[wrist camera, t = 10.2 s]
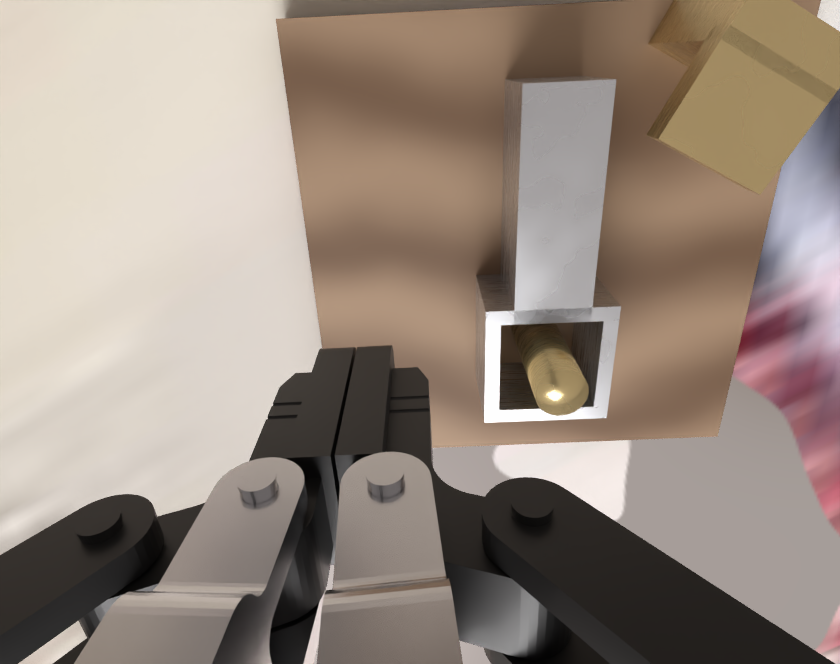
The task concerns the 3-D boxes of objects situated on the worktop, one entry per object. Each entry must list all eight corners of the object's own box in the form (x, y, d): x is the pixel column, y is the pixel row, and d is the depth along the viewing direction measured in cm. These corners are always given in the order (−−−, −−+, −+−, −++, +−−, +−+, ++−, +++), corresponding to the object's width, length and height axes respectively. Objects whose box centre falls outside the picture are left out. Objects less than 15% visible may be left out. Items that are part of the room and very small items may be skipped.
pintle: (511, 305, 26) (536, 371, 20) (554, 303, 26) (590, 368, 20) (510, 343, 26) (533, 416, 21) (552, 342, 26) (586, 414, 21)
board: (282, 20, 21) (275, 19, 20) (802, -7, 21) (823, -11, 20) (340, 437, 30) (337, 451, 29) (706, 422, 30) (717, 436, 29)
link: (476, 80, 21) (488, 85, 18) (611, 74, 21) (651, 77, 18) (475, 374, 27) (484, 422, 24) (581, 370, 27) (606, 418, 24)
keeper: (684, 164, 23) (760, 194, 18) (603, 120, 22) (658, 139, 17) (759, 51, 21) (867, 49, 16) (673, -1, 20) (758, -21, 15)
